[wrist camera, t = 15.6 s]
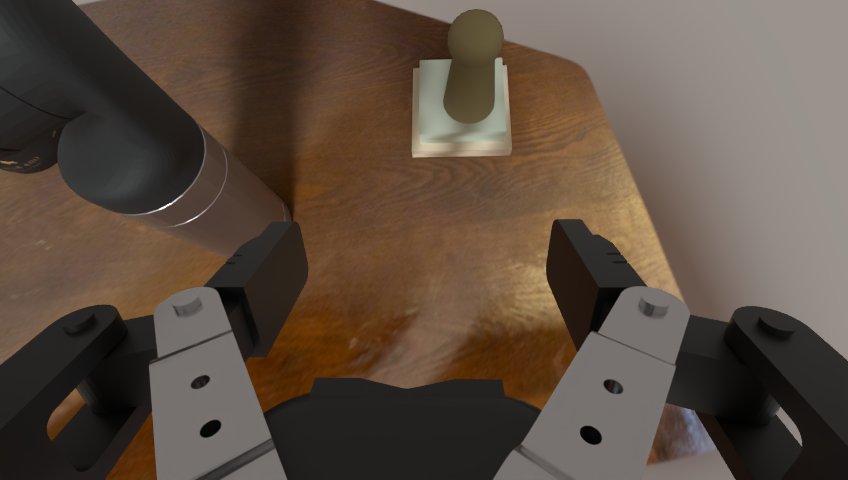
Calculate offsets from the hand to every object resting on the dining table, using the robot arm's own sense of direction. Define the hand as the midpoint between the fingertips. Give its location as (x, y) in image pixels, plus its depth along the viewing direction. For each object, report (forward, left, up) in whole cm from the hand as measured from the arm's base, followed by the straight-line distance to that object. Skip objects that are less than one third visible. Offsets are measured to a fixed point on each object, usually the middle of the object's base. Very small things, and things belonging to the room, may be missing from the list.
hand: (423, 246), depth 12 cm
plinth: (+3, +26, -31) cm, 40 cm away
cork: (+4, +25, -27) cm, 37 cm away
